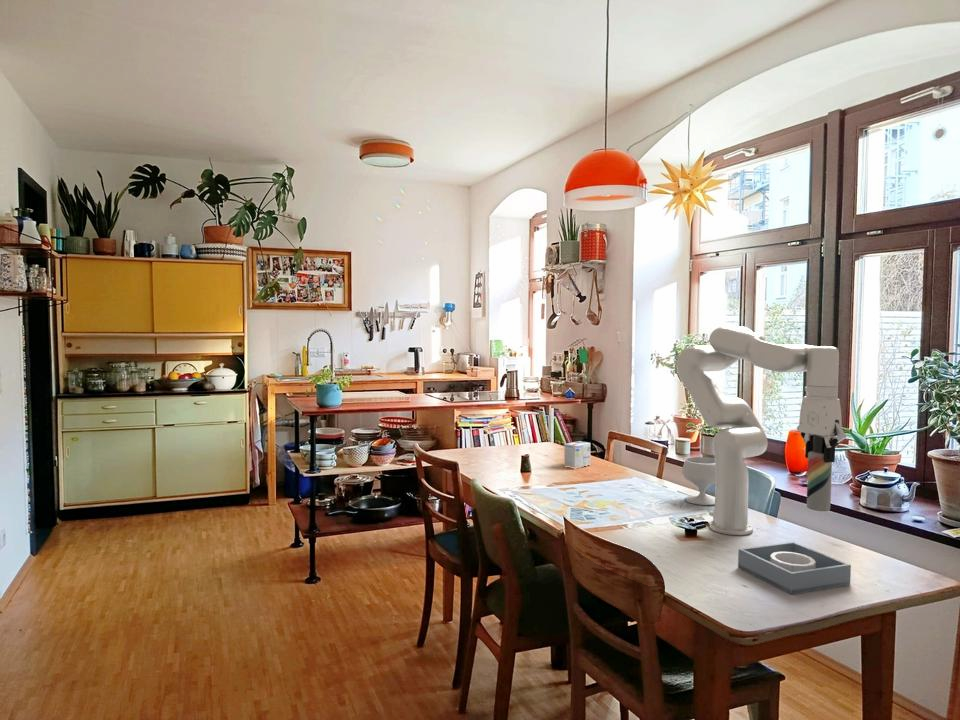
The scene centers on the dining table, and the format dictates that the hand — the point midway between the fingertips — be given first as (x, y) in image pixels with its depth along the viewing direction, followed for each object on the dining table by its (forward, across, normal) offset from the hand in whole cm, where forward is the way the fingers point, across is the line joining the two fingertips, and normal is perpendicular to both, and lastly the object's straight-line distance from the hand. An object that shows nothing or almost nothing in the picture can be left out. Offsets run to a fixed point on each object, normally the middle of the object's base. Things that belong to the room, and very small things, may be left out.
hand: (819, 459), depth 174 cm
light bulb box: (+28, -125, -6) cm, 128 cm away
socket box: (+27, +7, -16) cm, 32 cm away
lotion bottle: (+14, 0, 0) cm, 14 cm away
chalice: (+28, -58, +9) cm, 65 cm away
